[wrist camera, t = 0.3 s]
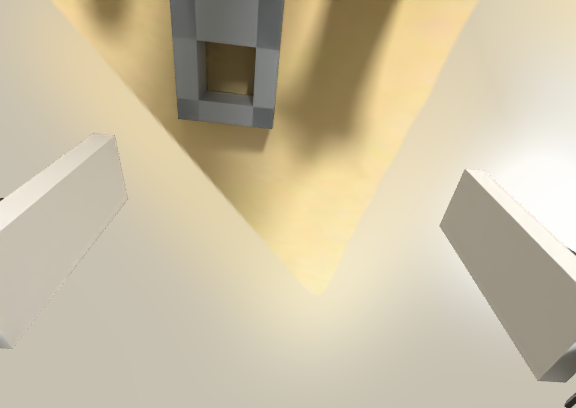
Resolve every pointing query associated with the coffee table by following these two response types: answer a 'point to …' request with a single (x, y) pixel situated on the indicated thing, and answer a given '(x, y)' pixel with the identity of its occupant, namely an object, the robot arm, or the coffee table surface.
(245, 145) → the coffee table surface
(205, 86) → the socket board
